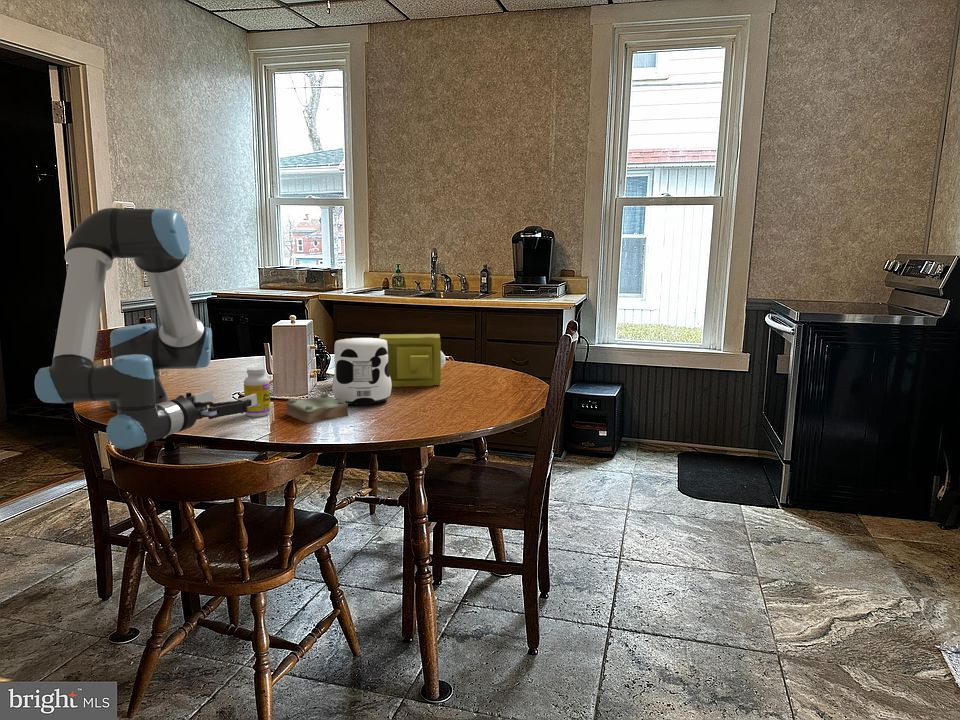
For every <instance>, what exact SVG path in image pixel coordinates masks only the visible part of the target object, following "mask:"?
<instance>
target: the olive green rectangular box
mask: <svg viewBox="0 0 960 720" xmlns="http://www.w3.org/2000/svg"><path fill="white" fill-rule="evenodd" d="M378 339H384V340H387V346H388V371H389V375H390V378H391V383H392V387H434V386H433V385H440V386H441V381H442V368H444V366H445V364H446V355H445V354H444V352H443V351H442V350H441V349H442V347H441V345H442V342H441V335H440V333H404V334H403V333H402V334H400V333H398V334H397V333H396V334H395V333H394V334H390V333H389V334H385V333H383V334H379V337H378Z"/></svg>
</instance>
